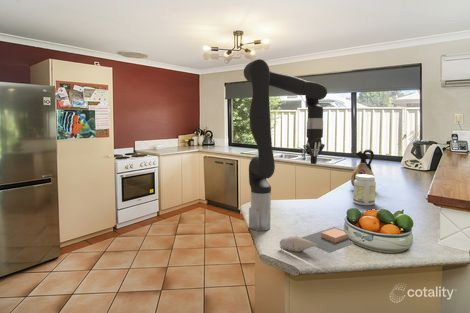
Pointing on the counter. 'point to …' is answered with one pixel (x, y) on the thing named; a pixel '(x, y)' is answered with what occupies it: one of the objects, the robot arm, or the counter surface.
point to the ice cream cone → (296, 243)
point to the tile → (334, 235)
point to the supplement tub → (364, 189)
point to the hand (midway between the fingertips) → (313, 163)
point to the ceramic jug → (363, 165)
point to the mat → (327, 241)
